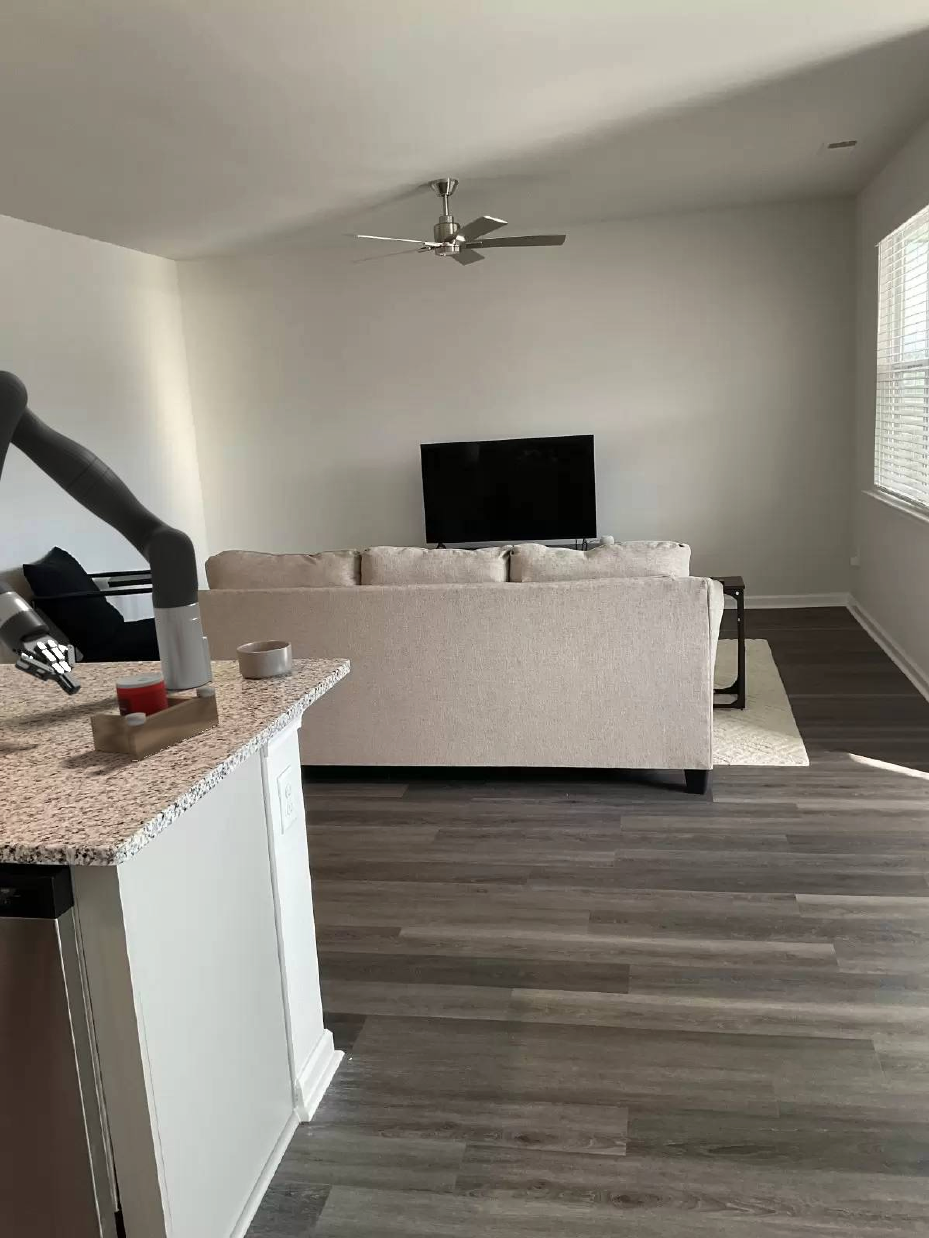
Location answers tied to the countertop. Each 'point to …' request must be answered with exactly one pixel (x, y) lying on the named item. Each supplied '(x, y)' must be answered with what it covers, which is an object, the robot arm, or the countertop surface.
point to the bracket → (156, 725)
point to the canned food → (141, 694)
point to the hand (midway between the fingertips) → (75, 691)
